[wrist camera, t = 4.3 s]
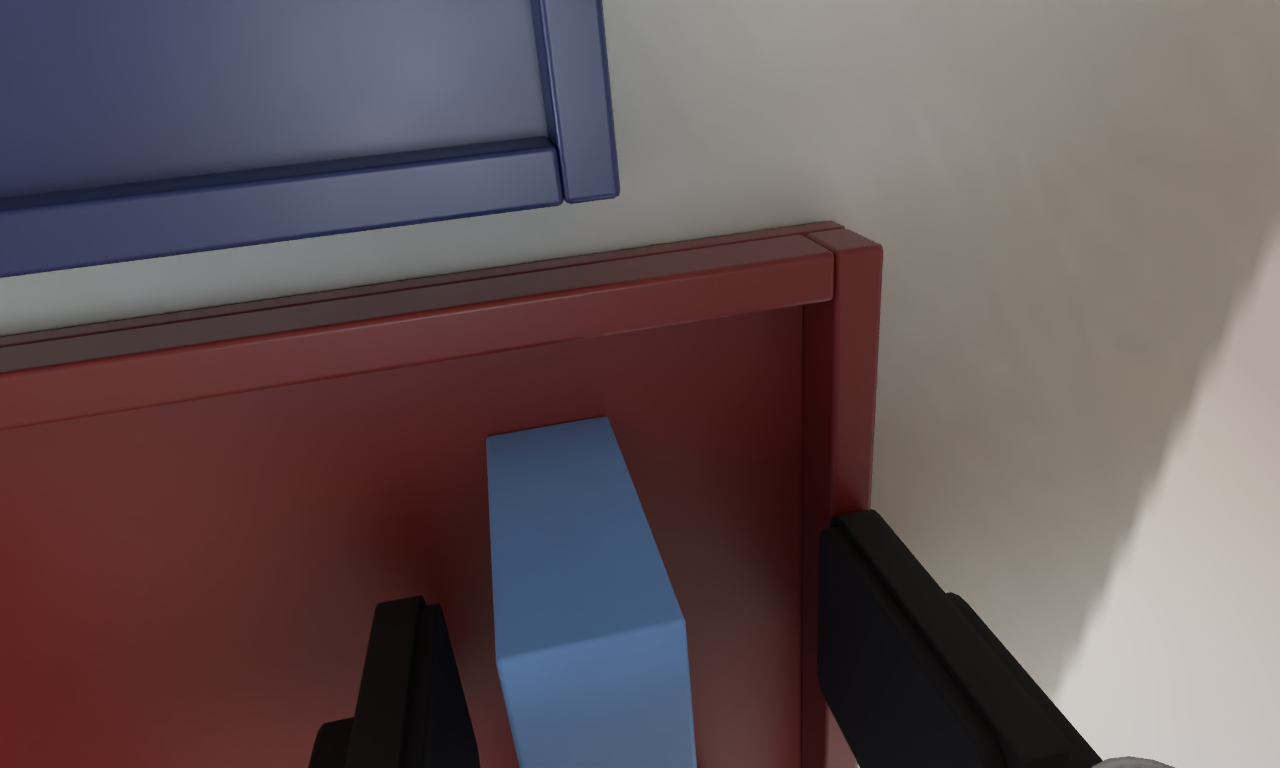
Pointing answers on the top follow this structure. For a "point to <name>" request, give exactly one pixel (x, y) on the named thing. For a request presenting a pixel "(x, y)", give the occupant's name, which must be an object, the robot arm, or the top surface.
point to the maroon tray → (421, 492)
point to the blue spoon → (583, 607)
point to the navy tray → (288, 120)
